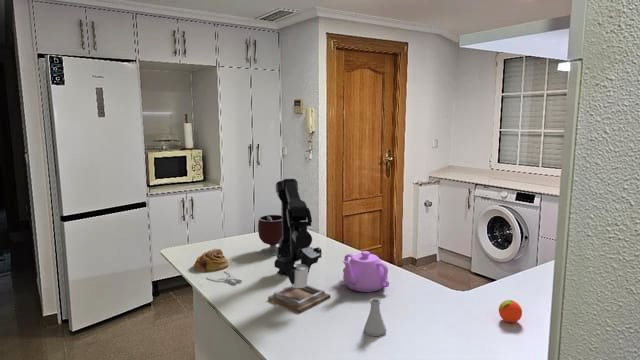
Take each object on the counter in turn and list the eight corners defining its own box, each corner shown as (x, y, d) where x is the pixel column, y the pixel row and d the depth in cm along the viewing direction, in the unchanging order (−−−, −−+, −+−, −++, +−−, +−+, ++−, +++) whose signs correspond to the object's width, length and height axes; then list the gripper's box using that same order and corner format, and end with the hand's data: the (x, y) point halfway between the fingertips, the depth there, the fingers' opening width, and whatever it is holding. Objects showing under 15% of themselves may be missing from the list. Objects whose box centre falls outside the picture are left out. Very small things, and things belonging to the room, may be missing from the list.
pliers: (225, 268, 185) (248, 277, 175) (225, 272, 185) (248, 281, 175) (205, 275, 178) (228, 284, 168) (206, 279, 178) (228, 288, 168)
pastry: (229, 270, 187) (228, 252, 186) (193, 273, 183) (192, 255, 182) (227, 260, 200) (227, 243, 199) (194, 263, 196) (193, 246, 195)
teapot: (321, 288, 166) (321, 254, 164) (356, 273, 182) (356, 241, 180) (367, 305, 152) (367, 267, 149) (401, 286, 167) (402, 252, 165)
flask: (361, 325, 137) (361, 296, 136) (383, 324, 138) (384, 295, 136) (365, 337, 130) (365, 306, 129) (389, 336, 131) (389, 305, 129)
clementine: (507, 329, 134) (509, 307, 133) (490, 319, 141) (491, 298, 139) (526, 324, 137) (527, 302, 136) (509, 314, 144) (510, 294, 143)
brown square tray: (299, 286, 168) (299, 279, 168) (330, 297, 158) (330, 291, 157) (268, 299, 157) (268, 292, 156) (299, 313, 146) (299, 305, 146)
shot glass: (311, 282, 159) (311, 264, 158) (304, 289, 152) (304, 271, 151) (293, 280, 161) (293, 262, 160) (286, 287, 154) (286, 268, 153)
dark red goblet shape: (263, 247, 218) (261, 208, 215) (290, 247, 216) (289, 208, 213) (254, 257, 203) (252, 215, 200) (283, 258, 201) (282, 216, 198)
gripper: (295, 250, 142) (296, 295, 144) (332, 237, 155) (332, 279, 158) (272, 243, 149) (274, 286, 152) (309, 232, 163) (310, 271, 165)
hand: (299, 281), depth 156 cm, fingers closed on shot glass, 6 cm apart
